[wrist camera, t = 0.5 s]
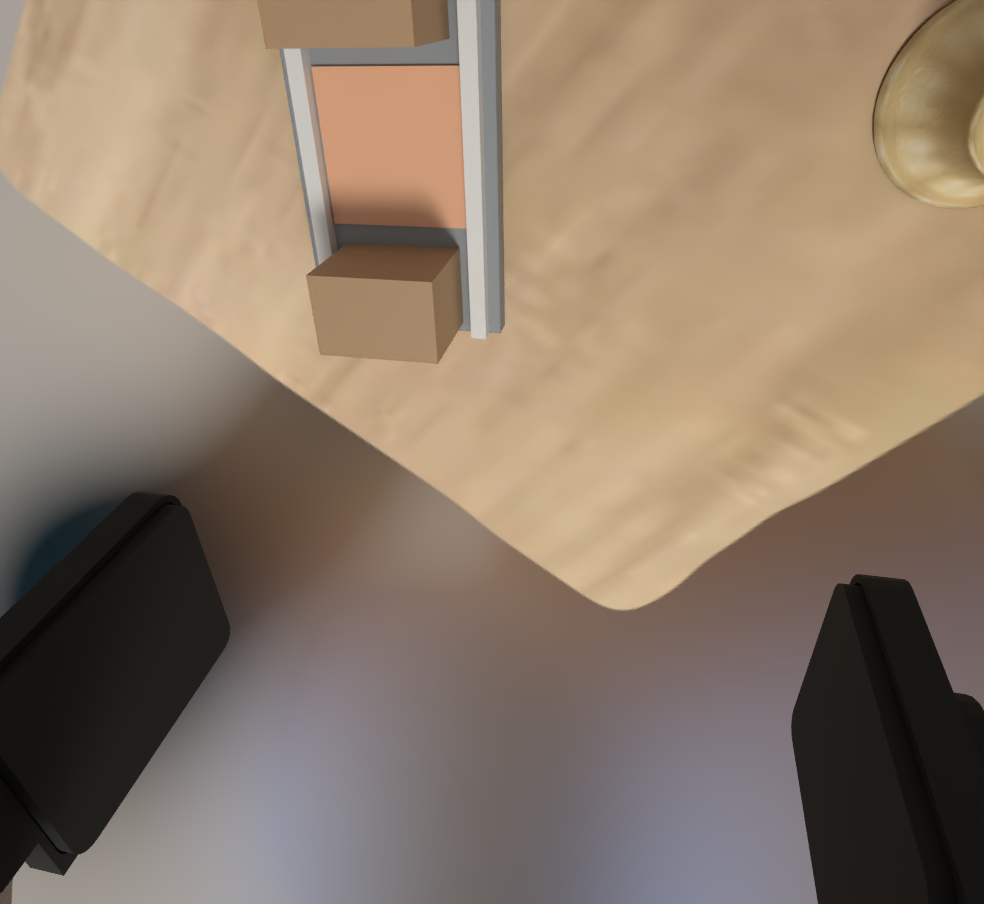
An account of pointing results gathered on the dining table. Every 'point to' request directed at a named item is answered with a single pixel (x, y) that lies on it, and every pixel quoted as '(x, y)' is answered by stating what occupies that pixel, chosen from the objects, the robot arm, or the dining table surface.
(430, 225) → the rail
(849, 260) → the dining table surface
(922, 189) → the hand bell
